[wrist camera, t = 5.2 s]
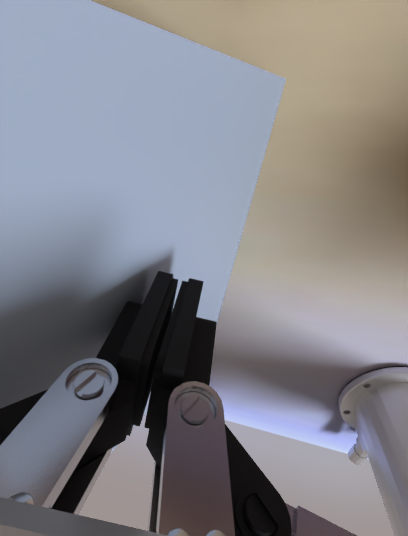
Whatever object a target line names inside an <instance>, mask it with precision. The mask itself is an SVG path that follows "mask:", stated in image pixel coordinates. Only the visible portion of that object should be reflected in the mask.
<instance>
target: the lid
mask: <svg viewBox="0 0 408 536" xmlns="http://www.w3.org/2000/svg"><path fill="white" fill-rule="evenodd" d="M285 81H286V79H285V78H283V77H280V76H278V75H275V74H273V73H270V72H268V71H265V70H263V69H260V68H258V67H255V66H253V65H250V64H248V63H245V62H243V61H240V60H238V59H235V58H233V57H230V56H228V55H225V54H223V53H220V52H218V51H215V50H213V49H210V48H208V47H205V46H203V45H200V44H198V43H195V42H193V41H191V40H188V39H186V38H183V37H181V36H178V35H176V34H173V33H171V32H168V31H166V30H163V29H161V28H158V27H156V26H153V25H151V24H148V23H146V22H143V21H141V20H138V19H136V18H133V17H131V16H128V15H126V14H123V13H121V12H118V11H116V10H113V9H111V8H108V7H106V6H103V5H101V4H98V3H96V2H93V1H91V0H0V409H1V408H3V407H6V406H8V405H10V404H13V403H15V402H18V401H20V400H23V399H25V398H28V397H30V396H32V395H35V394H37V393H40V392H42V391H45V390H47V389H49V388H50V387H51V386H52V385H53V383H54V382H55V381H56V380H57V379H58V378H59V376H60V375H61V374H62V373H63V372H64V371H65V370H66V369H67V368H68V367H69V366H70V365H72V364H74V363H76V362H77V361H80V360H84V359H87V358H96V356H97V355H98V353H99V351H100V349H101V347H102V346H103V344H104V342H105V340H106V338H107V337H108V335H109V333H110V331H111V329H112V328H113V326H114V324H115V322H116V320H117V318H118V317H119V315H120V313H121V311H122V309H123V308H124V306H125V304H126V303H127V302H128V301H131V302H135V303H139V304H143V302H144V300H145V298H146V296H147V294H148V292H149V289H150V287H151V285H152V283H153V281H154V279H155V277H156V275H157V273H158V271H162V272H166V273H170V274H173V278H174V279H178V284H177V290H176V295H175V300H174V305H175V302H176V299H177V296H178V293H179V289H180V286H181V283H182V281H187V282H188V280H189V278H191V279H196V280H200V281H204V282H203V287H202V292H201V297H200V301H199V306H198V311H197V315H196V317H199V318H203V319H207V320H212V321H216V324H217V321H218V317H219V314H220V310H221V307H222V303H223V300H224V296H225V292H226V289H227V285H228V282H229V278H230V275H231V271H232V268H233V264H234V261H235V257H236V254H237V250H238V247H239V243H240V240H241V236H242V232H243V229H244V225H245V222H246V218H247V215H248V211H249V208H250V204H251V201H252V197H253V194H254V190H255V187H256V183H257V180H258V176H259V173H260V169H261V165H262V162H263V158H264V155H265V151H266V148H267V144H268V141H269V137H270V134H271V130H272V127H273V123H274V120H275V116H276V113H277V109H278V105H279V102H280V98H281V95H282V91H283V88H284V84H285ZM174 305H173V308H174ZM150 393H151V392H150ZM149 399H150V395H149V398H148V401H147V405H146V408H145V411H144V414H143V416H144V415H145V414H146V413H147V410H148V404H149ZM134 426H135V425H133V427H134ZM116 447H117V445H116V446H114V447H113V448H112V451H113V450H114V449H115V448H116ZM112 451H111V452H112Z"/></svg>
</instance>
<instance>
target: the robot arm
mask: <svg viewBox="0 0 408 536" xmlns="http://www.w3.org/2000/svg"><path fill="white" fill-rule="evenodd" d="M203 282H204V281H200V280H196V279H191V278H189V280H188V282H187V281H182V283H181V286H180V289H179V293H178V296H177V299H176V302H175V305H174V300H175V295H176V290H177V284H178V279H174V278H173V274H170V273H166V272H162V271H158V273H157V275H156V277H155V279H154V281H153V283H152V285H151V287H150V289H149V292H148V294H147V296H146V298H145V300H144V302H143V304H139V303H135V302H131V301H128V302H127V303H126V304H125V306H124V308H123V309H122V311H121V313H120V315H119V317H118V318H117V320H116V322H115V324H114V326H113V328H112V329H111V331H110V333H109V335H108V337H107V338H106V340H105V342H104V344H103V346H102V347H101V349H100V351H99V353H98V355H97V356H96V358H87V359H84V360H80V361H77V362H76V363H74V364H72V365H70V366H69V367H68V368H67V369H66V370H65V371H64V372H63V373H62V374H61V375H60V376H59V378H58V379H57V380H56V381H55V382H54V383H53V385H52V386H51V387H50V388H49V389H47V390H45V391H42V392H40V393H37V394H35V395H32V396H30V397H28V398H25V399H23V400H20V401H18V402H15V403H13V404H10V405H8V406H6V407H3V408H1V409H0V536H357V535H355V534H353V533H351V532H349V531H347V530H345V529H343V528H341V527H339V526H337V525H335V524H333V523H331V522H330V521H328V520H326V519H324V518H322V517H320V516H318V515H316V514H314V513H312V512H310V511H308V510H306V509H304V508H302V507H300V506H298V507H297V508H294V507H292V506H290V505H288V504H286V503H285V502H284V501H283V499H282V497H281V496H280V494H279V493H278V492H277V490H276V489H275V488H274V486H273V485H272V484H271V483H270V481H269V480H268V479H267V477H266V476H265V475H264V474H263V472H262V471H261V470H260V468H259V467H258V466H257V465H256V463H255V462H254V461H253V459H252V458H251V457H250V456H249V454H248V453H247V452H246V450H245V449H244V448H243V446H242V445H241V444H240V443H239V442H238V440H237V439H236V437H235V436H234V435H233V434H232V432H231V431H230V430H229V428H228V427H227V426H226V425H225V421H224V410H223V405H222V401H221V399H220V397H219V395H218V394H217V392H216V391H215V390H213V389H212V388H211V387H210V386H209V382H210V373H211V365H212V357H213V348H214V340H215V331H216V321H212V320H207V319H203V318H199V317H196V315H197V311H198V306H199V301H200V297H201V292H202V287H203ZM173 305H174V308H173ZM150 392H151V393H150ZM149 395H150V399H149V404H148V410H147V416H146V422H145V428H149V434H148V439H147V444H146V445H147V447H148V449H149V451H150V453H151V454H152V456H153V458H154V460H155V463H154V472H153V481H152V492H151V502H150V512H149V522H148V531H145V530H141V529H136V528H132V527H128V526H123V525H119V524H115V523H110V522H106V521H102V520H97V519H93V518H89V517H84V516H80V515H78V514H79V512H80V511H81V509H82V507H83V505H84V503H85V501H86V499H87V497H88V496H89V494H90V492H91V490H92V488H93V486H94V484H95V482H96V480H97V478H98V476H99V475H100V473H101V471H102V469H103V467H104V465H105V463H106V461H107V459H108V457H109V456H110V453H111V451H112V448H113V447H114V446H116V445H118V444H120V443H121V442H123V441H125V438H126V436H127V435H129V436H130V434H131V431H132V428H133V425H136V426H140V424H141V421H142V417H143V414H144V411H145V408H146V405H147V401H148V398H149ZM338 405H339V410H340V413H341V416H342V418H343V419H344V421H345V422H346V423H347V424H348V425H349V426H350V427H352V428H354V429H355V430H356V431H357V434H358V437H357V439H356V441H357V444H355V445H354V446H353V447H352V448H351V449H350V450H349V452H348V456H349V459H350V460H351V461H352V462H353V463H354V464H356V465H361V464H362V463H363V462H364V461H365V460H366V459H367V457H368V458H369V461H370V463H371V467H372V470H373V473H374V476H375V479H376V482H377V485H378V488H379V491H380V494H381V496H382V499H383V502H384V505H385V508H386V511H387V514H388V517H389V520H390V523H391V526H392V529H393V532H394V535H395V536H408V367H391V368H383V369H379V370H375V371H371V372H369V373H366V374H364V375H362V376H360V377H358V378H356V379H354V380H353V381H352V382H351V383H349V384H348V385H347V386H346V387H345V388H344V389H343V391H342V393H341V394H340V396H339V401H338Z"/></svg>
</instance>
